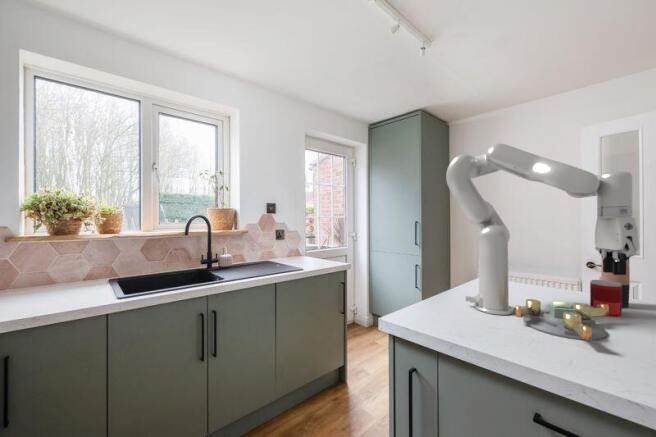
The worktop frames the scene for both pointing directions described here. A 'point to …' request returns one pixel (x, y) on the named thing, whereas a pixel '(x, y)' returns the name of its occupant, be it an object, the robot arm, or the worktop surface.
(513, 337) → the worktop surface
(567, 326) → the knob
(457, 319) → the worktop surface
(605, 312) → the knob
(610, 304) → the canned food
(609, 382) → the worktop surface
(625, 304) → the travel mug
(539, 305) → the knob
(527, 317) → the tribrach
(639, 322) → the worktop surface
